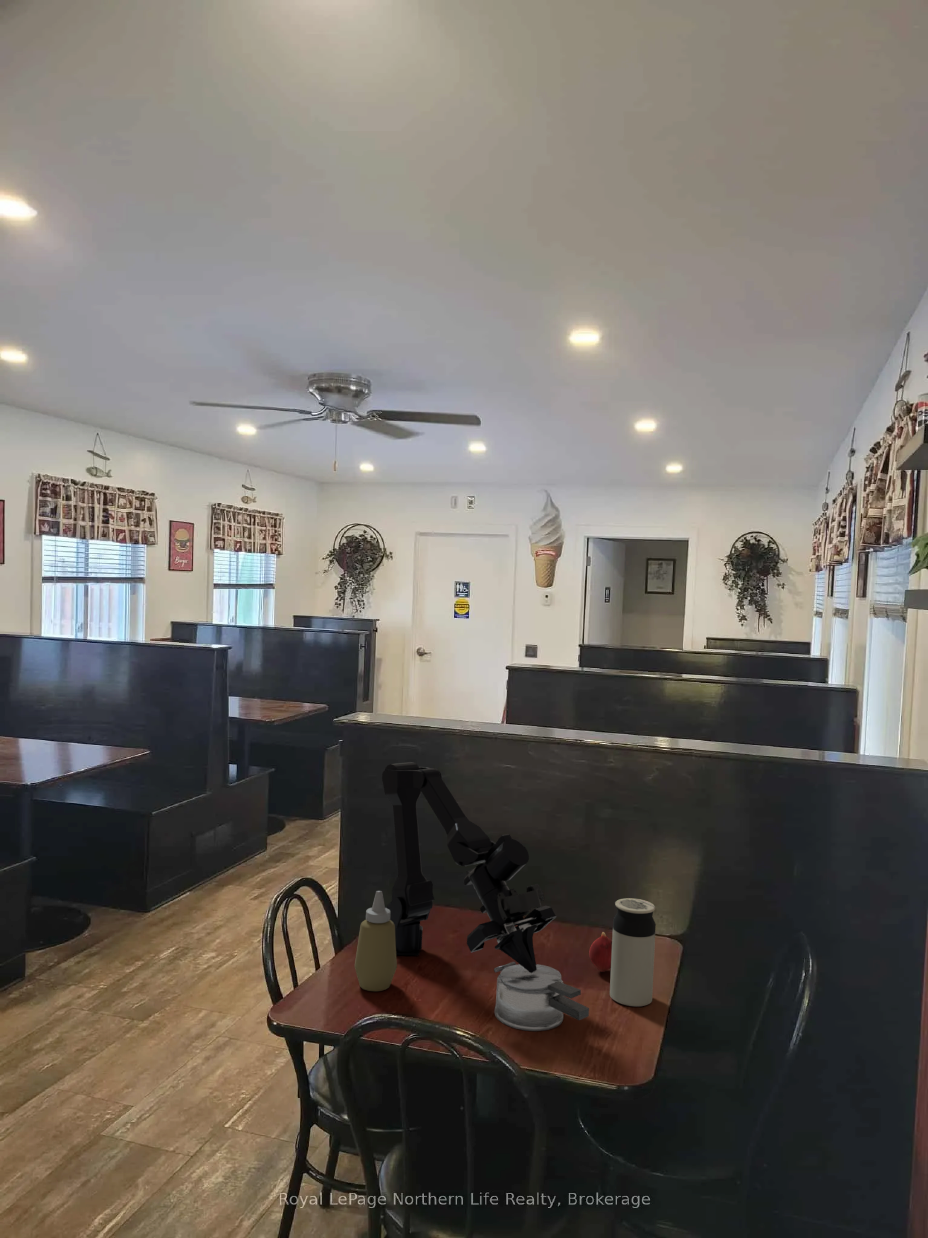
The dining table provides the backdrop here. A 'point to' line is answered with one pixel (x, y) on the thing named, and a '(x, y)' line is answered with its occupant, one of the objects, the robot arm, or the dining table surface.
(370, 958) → the squeeze bottle
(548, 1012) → the pot
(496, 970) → the lid
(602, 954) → the onion
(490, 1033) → the dining table surface
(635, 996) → the travel mug
